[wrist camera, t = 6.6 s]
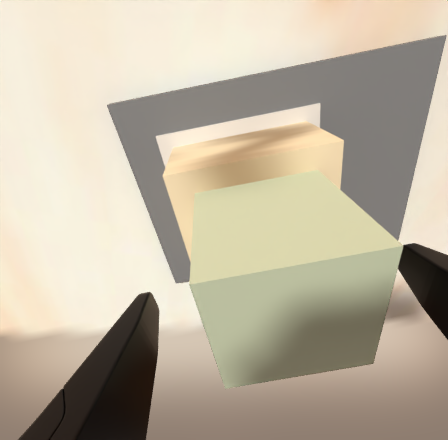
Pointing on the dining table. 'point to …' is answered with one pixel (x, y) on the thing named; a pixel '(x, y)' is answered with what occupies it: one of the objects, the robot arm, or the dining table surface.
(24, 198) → the dining table surface
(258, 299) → the green cube
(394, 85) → the grey flat plate
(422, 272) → the robot arm
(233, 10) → the dining table surface
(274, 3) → the dining table surface
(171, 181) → the maple block
